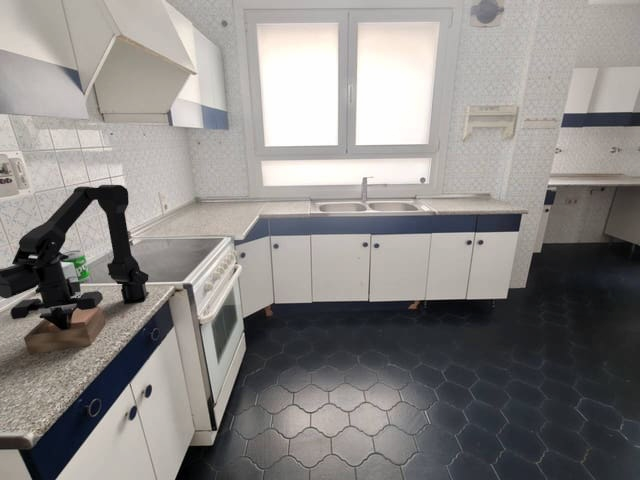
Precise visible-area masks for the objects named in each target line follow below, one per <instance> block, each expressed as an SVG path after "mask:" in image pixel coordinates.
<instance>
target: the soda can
mask: <svg viewBox="0 0 640 480" xmlns="http://www.w3.org/2000/svg"><path fill="white" fill-rule="evenodd" d="M62 254H64V255H67V256H69V258H67V259H65V260H62V261H61V262H70V263H74V267H75V270H76V274H77V278H78V281H80V284H82V283H85V282H88V280H89V279H90V277H91V274H90V271H89V268H88V263H87V260H86V255H85V253H84V252H83V251H81V250H80V249H79V250H77V249H76V250H69V251H65V252H63V253H62Z"/></svg>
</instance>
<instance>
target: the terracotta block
mask: <svg viewBox="0 0 640 480" xmlns="http://www.w3.org/2000/svg"><path fill="white" fill-rule="evenodd" d="M99 309H102V308H101V305H97V307H96V308H93V309H87V310H80V309H78V308H77V309H76V310H75V311H74V312H73V315H72V320H71V327H70V329H75V328H82V327H85V325H86V324H87V323H88V322H89V321H90V319H91V318H92V317H93V316H94V314H95V313H96V312H97V311H98V310H99ZM48 327H49V330H50V332H55V331H61V329H59V328H58V327H57V326H56V325H54V324H52V323H51V324H50V325H49V326H48Z"/></svg>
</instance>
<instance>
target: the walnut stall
mask: <svg viewBox="0 0 640 480" xmlns="http://www.w3.org/2000/svg"><path fill="white" fill-rule="evenodd" d="M50 324H51V322H49V321H47V320H46V319H44V318H42V321H40V322H39V323H38V324H37V325H35V327H34V328H32V329H31V330H30V331H29V332H28V333H27V334H26V335H25V336H24V337H23V341H24V343H25V346H26V348H27V351H28V354H29V355H34V354H35V355H36V354H41V353H49V352H54V351H60V350H65V349H72V348H77V347H78V348H79V347H85V346H91V345H92V344H93V343H94V341H95V340H96V339H97V337H98V336H99V335H100V333H101V332H102V330H103V329H104V327H105V326H106V325H107V323H106V319H105V315H104V311H103V308H101V309H99V310H98V311H97V312H96V313H95V314H94V316H93V317H92V318H91V319H90V321H89V322H88V323H87V324H86V325H85V327H82V328H75V329H68V330H61V331H55V332H50V330H49V327H48V326H49V325H50Z"/></svg>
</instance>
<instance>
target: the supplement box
mask: <svg viewBox="0 0 640 480" xmlns="http://www.w3.org/2000/svg"><path fill="white" fill-rule="evenodd" d="M61 265H62V268H63V271H64V275H65V278H69V280H70V282H77V281H78V278H77V274H76V270H75V267H74V263H70V262H61ZM80 291H81V292H75V293H76V295H74V296H72V297H71V298H75V297H77V296H78V297H80V296H82V295H83V293H82V288H81V287H80ZM81 294H82V295H81ZM79 295H80V296H79Z"/></svg>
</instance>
